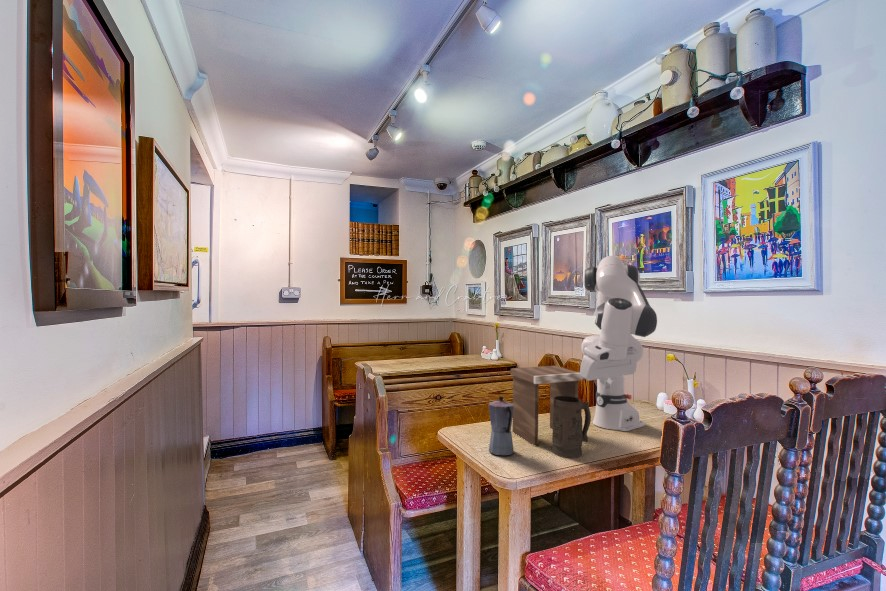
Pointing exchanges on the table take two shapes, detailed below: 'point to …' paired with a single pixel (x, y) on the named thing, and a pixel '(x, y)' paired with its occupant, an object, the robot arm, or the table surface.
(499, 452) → the moka pot
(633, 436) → the table surface
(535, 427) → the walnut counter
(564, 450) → the beer stein
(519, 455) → the table surface
